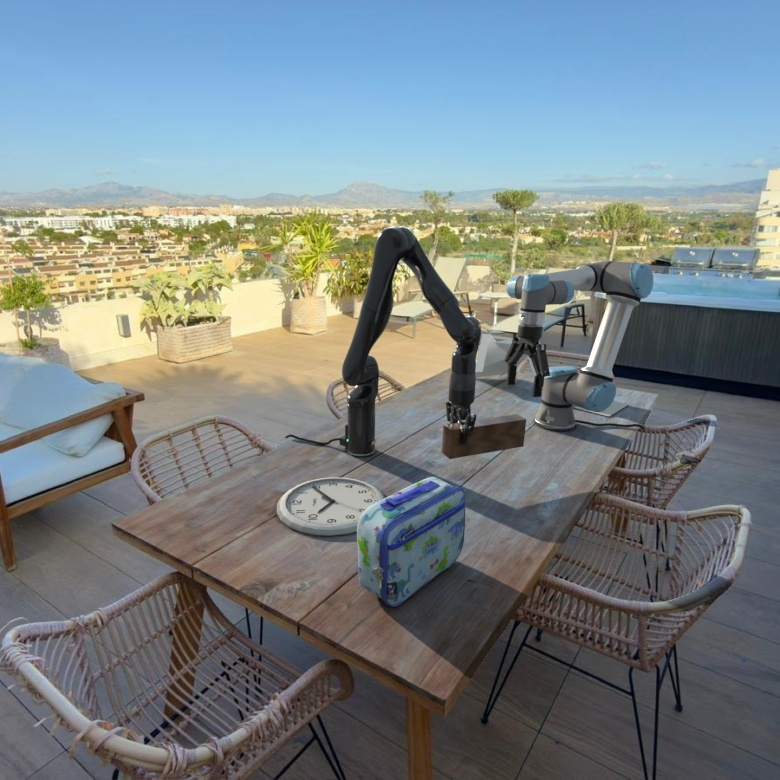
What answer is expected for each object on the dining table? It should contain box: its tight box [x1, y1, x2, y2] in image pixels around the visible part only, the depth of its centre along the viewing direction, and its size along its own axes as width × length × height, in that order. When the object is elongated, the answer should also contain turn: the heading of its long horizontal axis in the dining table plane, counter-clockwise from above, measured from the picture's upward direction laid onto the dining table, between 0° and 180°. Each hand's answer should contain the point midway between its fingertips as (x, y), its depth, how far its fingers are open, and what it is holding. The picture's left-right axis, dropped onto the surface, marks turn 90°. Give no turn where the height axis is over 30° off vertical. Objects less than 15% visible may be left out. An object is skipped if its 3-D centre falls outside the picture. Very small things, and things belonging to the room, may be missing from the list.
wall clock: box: [276, 476, 386, 537], centre depth 142 cm, size 30×2×30 cm
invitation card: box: [573, 400, 629, 418], centre depth 226 cm, size 21×1×15 cm
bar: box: [441, 413, 527, 460], centre depth 160 cm, size 26×5×9 cm, turn 113°
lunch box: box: [356, 476, 466, 608], centre depth 110 cm, size 26×11×21 cm, turn 134°
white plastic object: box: [475, 306, 541, 378], centre depth 257 cm, size 37×45×31 cm
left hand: (458, 439), depth 156 cm, fingers closed on bar, 5 cm apart
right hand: (523, 390), depth 168 cm, fingers open, 13 cm apart
